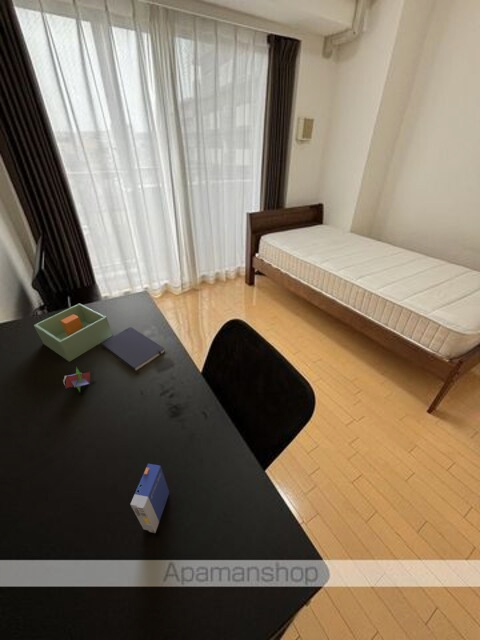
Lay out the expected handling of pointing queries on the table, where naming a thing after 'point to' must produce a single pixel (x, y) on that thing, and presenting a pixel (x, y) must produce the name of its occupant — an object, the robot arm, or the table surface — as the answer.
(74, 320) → the block
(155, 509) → the walkman
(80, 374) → the geometric puzzle
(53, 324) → the bin
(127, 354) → the notebook
